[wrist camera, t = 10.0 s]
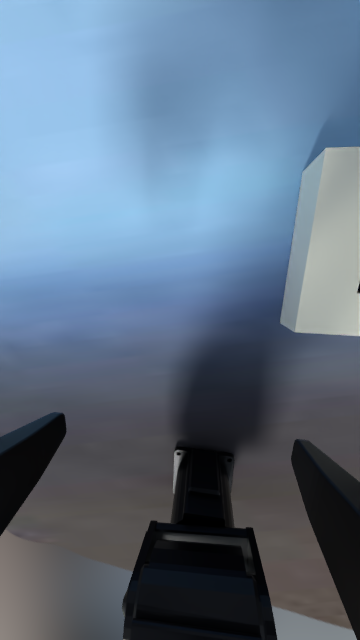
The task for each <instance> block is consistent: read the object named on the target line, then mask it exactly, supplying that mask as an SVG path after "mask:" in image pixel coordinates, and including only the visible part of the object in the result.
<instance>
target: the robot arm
mask: <svg viewBox="0 0 360 640" xmlns="http://www.w3.org/2000/svg"><path fill="white" fill-rule="evenodd" d="M65 435H66V422H65V415H64V414H63V413H58V412H53V413H50V414H48V415H46V416H44V417H42V418H40V419H38V420H36V421H33V422H31V423H29V424H27V425H25V426H23V427H21V428H19V429H17V430H14V431H12V432H10V433H8V434H6V435H4V436H2V437H0V536H1V534H2V533H3V532H4V530H5V529H6V527H7V526H8V524H9V523H10V521H11V520H12V519H13V517H14V516H15V514H16V513H17V511H18V510H19V508H20V507H21V506H22V504H23V503H24V501H25V500H26V498H27V497H28V495H29V494H30V492H31V491H32V490H33V488H34V487H35V485H36V484H37V482H38V481H39V479H40V478H41V476H42V474H43V473H44V471H45V470H46V468H47V466H48V464H49V463H50V461H51V459H52V458H53V456H54V454H55V452H56V451H57V449H58V447H59V445H60V444H61V442H62V440H63V439H64V437H65ZM179 452H180V453H179ZM228 458H230V459H228ZM291 462H292V466H293V469H294V473H295V476H296V479H297V482H298V486H299V489H300V492H301V495H302V499H303V502H304V505H305V508H306V511H307V514H308V517H309V520H310V523H311V525H312V528H313V531H314V533H315V536H316V538H317V541H318V543H319V546H320V548H321V551H322V553H323V556H324V558H325V561H326V563H327V565H328V568H329V570H330V573H331V575H332V578H333V580H334V583H335V585H336V588H337V590H338V593H339V595H340V598H341V600H342V603H343V605H344V608H345V610H346V613H347V615H348V618H349V620H350V623H351V625H352V628H353V630H354V633H355V635H356V638H357V640H360V482H359V481H358V480H357V479H355V478H354V477H353V476H352V475H350V474H349V473H348V472H347V471H345V470H344V469H343V468H342V467H340V466H339V465H338V464H337V463H335V462H334V461H333V460H332V459H331V458H329V457H328V456H327V455H326V454H324V453H323V452H322V451H321V450H319V449H318V448H317V447H316V446H314V445H313V444H312V443H311V442H309V441H307V440H300V439H296V440H295V442H294V446H293V451H292V456H291ZM233 468H234V456H233V455H232V454H231V453H224V452H216V451H208V450H200V449H192V448H183V447H176V448H175V451H174V478H173V493H174V501H173V509H172V516H171V523H160V522H157V521H151V522H150V525H149V528H148V531H146V534H145V537H144V540H143V543H142V546H141V549H140V552H139V555H138V558H137V561H136V565H135V568H134V571H133V574H132V577H131V580H130V583H129V586H128V590H127V592H126V594H125V596H124V599H123V604H122V605H123V606H122V611H123V614H124V617H125V621H124V633H123V640H277V635H276V629H275V623H274V617H273V612H272V607H271V602H270V597H269V592H268V588H267V584H266V580H265V576H264V572H263V568H262V563H261V559H260V555H259V551H258V547H257V543H256V539H255V535H254V531H253V528H251V527H246V529H243V528H234V520H233V511H232V503H231V495H230V494H231V485H232V476H233Z"/></svg>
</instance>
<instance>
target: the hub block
mask: <svg viewBox="0 0 360 640" xmlns="http://www.w3.org/2000/svg"><path fill="white" fill-rule="evenodd" d="M359 282H360V147H334V148H325V149H324V150H323V151H322V152H321V153H320V154H319V155H318V156H317V157H316V158H315V160H314V161H313V162H312V163H311V164H310V165H309V166H308V167H307V168H306V169H305V170H304V171H303V172H302V179H301V185H300V192H299V199H298V205H297V212H296V219H295V225H294V232H293V239H292V245H291V252H290V259H289V265H288V272H287V278H286V285H285V292H284V298H283V305H282V312H281V318H280V323H281V324H282V325H284V326H285V327H287V328H289V329H290V330H292V331H293V332H298V333H315V334H332V335H349V336H360V291H358V286H359Z"/></svg>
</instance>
